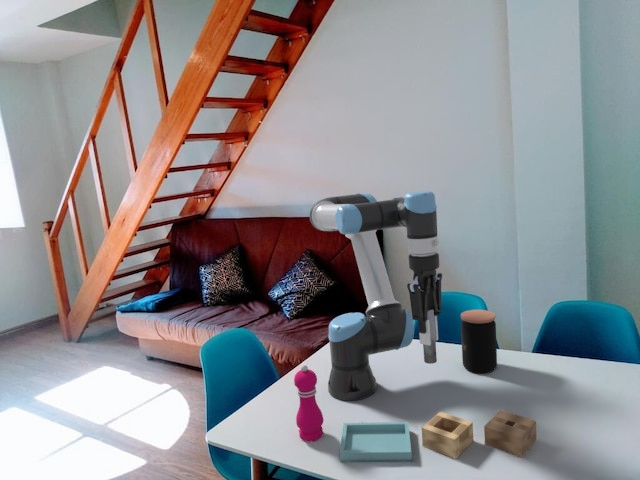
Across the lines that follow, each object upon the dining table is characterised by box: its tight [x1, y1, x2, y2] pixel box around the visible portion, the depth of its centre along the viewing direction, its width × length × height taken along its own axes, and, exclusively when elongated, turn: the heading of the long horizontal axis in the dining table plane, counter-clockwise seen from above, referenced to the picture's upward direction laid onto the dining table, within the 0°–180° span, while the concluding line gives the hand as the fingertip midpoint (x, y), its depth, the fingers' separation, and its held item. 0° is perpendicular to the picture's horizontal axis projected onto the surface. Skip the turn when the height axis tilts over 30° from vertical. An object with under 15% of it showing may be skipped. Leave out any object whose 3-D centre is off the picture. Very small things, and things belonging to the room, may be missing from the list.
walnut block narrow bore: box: [483, 409, 537, 458], centre depth 120 cm, size 9×9×5 cm
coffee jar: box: [460, 309, 498, 375], centre depth 160 cm, size 11×11×18 cm
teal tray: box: [339, 421, 413, 463], centre depth 124 cm, size 17×13×2 cm
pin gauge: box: [422, 308, 438, 365], centre depth 128 cm, size 3×3×14 cm
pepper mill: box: [293, 364, 324, 443], centre depth 130 cm, size 7×7×20 cm
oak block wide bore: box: [421, 411, 474, 460], centre depth 122 cm, size 9×9×5 cm
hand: (429, 341), depth 128 cm, fingers closed on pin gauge, 3 cm apart
